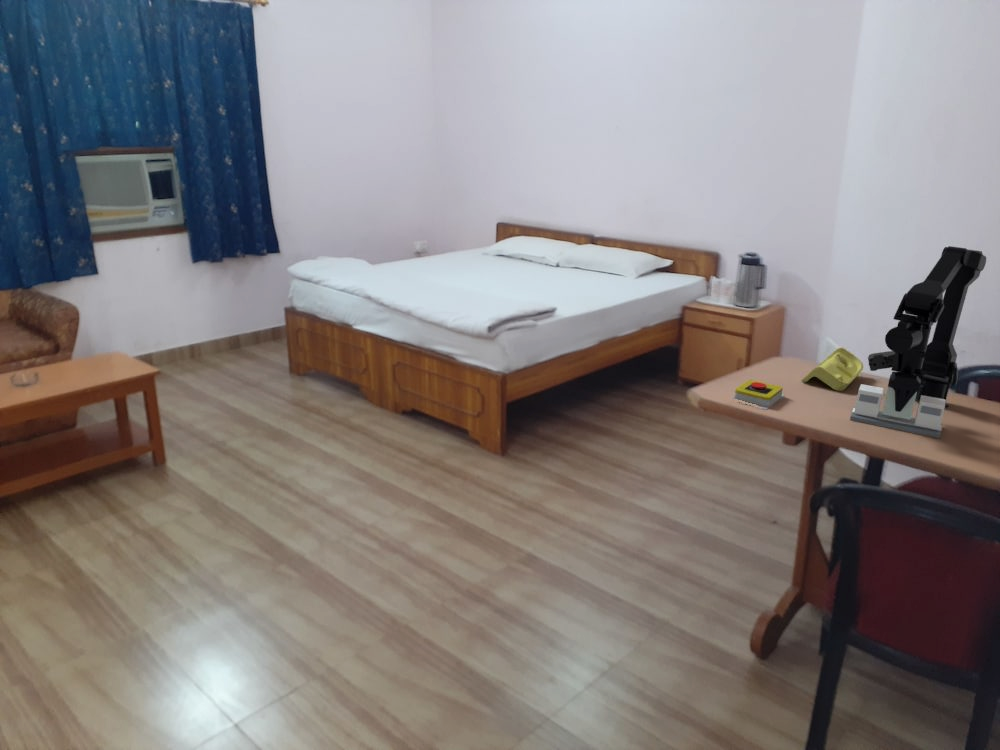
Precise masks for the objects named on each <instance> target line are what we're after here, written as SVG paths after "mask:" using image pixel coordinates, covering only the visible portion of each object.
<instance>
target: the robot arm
mask: <svg viewBox="0 0 1000 750" xmlns="http://www.w3.org/2000/svg"><path fill="white" fill-rule="evenodd" d="M986 263H987V256H985V254H983V251H981V250H977V249H976V250H975V249H967V248H966V247H958V246H953V245H952V246H951V245H949V246H945V247H943V250H942V252H941V255H940V258H939V259H938V261H937V262H936V264H935V265H934V267H933V268H932V269H931V270H930V272H929V273H928V274H927V276H926V278H925V279H924V280H923V281H922V282H919V283H916V284H914V285H913V286H912V287H911V288H909V290H907V293H906V292H905V293H904V295H903V297H902V299H901V301H900V303H899V305H898V307H897V310H896V312H895V314H894V316H893V320H895V321H898V322H897V326H894V327H893V328H891V329H889V330H888V332H887V333H886V334H885V336H884V342H885V345H886V347H887V348H888V349H889V351H888V350H887V351H883V352H881V351H880V352H875V353H870V354H869V355H868V357H867V361H868V367H869V370H870V372H874V371H877V370H885V369H890V368H891V374H890V376H889V380H888V383H887V388H888V387H891V388H893V389H894V391H895V411H898V412H901V410H902V409H903V408H904V407H905V405H906V404H907V403H908V401H909V400H910V399H911V398H912V397H913V395H914V394H915V393H916V392H917V395H916V399H915V402H917V403H919V402H920V398H921V395H923V396H929V397H934V398H940V399H945V408H947V407H949V406H950V404H948V403H947V402H946V401H947V396H948V394H949V390H950V387H951V386H957V383H958V377H959V369H958V363H957V357H958V354H957V352H956V349H955V346H954V344H953V343H954V340H955V336H956V334H957V333H956V332H957V329H958V325H959V322H960V319H961V316H962V312H963V309H964V306H965V305H964V304H965V300H966V296H967V295H968V290H969V287H970V286H971V285H972V284H973V283H974V282H975V281H976V280H977V279H979V277H980V275H981V272H982V271H983V270H984V269H985V266H986ZM935 323H936V324H935ZM934 324H935V328H934V331H933V336H932V338H931V339H932V340H931V341H930V342H929V339H930V335H931V331H932V326H933V325H934Z"/></svg>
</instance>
